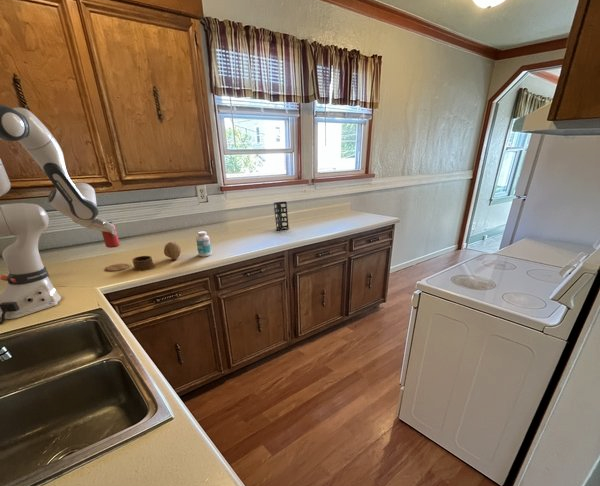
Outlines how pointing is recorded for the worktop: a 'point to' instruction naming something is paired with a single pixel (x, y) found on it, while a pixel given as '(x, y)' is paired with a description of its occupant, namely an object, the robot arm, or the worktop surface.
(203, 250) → the pill bottle
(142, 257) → the cup
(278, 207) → the holder
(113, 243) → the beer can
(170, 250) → the natural sponge
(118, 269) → the coaster
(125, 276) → the worktop surface
